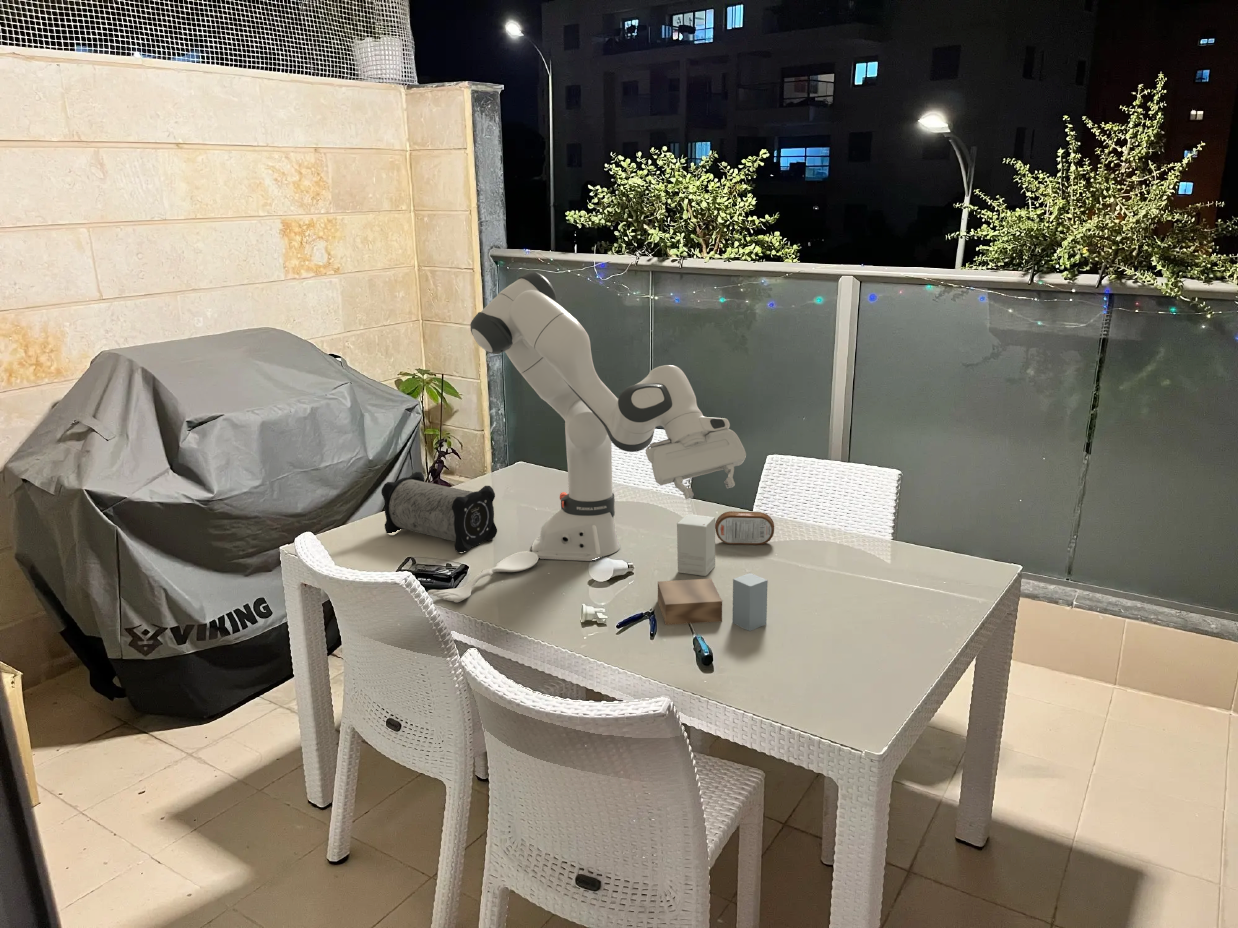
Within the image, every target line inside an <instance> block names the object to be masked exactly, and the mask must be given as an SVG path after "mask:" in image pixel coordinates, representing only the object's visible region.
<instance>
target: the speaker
mask: <svg viewBox="0 0 1238 928" xmlns="http://www.w3.org/2000/svg"><path fill="white" fill-rule="evenodd" d="M492 487H493V486H491V485H484V486H483V487H482V488H480V490H477V491H469V490H465V489H461V488H456V487H452V486H446V485H441V484H437V483H431V482H426V481H425V475H424V474H423V473H422V472H421V471H415V472H414V473H412V474H411V475H410V476H407V477H402V478H399V479H397V480H396V481H394V482H393V481H387V482H385V483H384V485H383V486H382V488H381V495H382V498H383V500H384V507H383V508H384V514H385V520H386V521H385V522H384V530H385V533H386V534H387V533H392V532H396V531H397V530H400V529H406V530H407V531H412V532H415V533H419V534H424V535H429V536H431V537H435V538H439V539H443V540H446V541H451V542H454V549H455V551H456V552H457V553H458V552H464V551H467V552H468V551H470V550H471V548H473V547H472V546H474V547H476V546H475V545H477V546H479V545H480V544H479V543H481V544H482V543H484V542H486V541H487V540H490V541H492V540H494V538H496V535H497V533H498V528H497V526H496V524H495V507H494V500H495V498H496V493H495V491H494V489H493V488H492ZM406 530H405V531H406ZM478 544H479V545H478Z"/></svg>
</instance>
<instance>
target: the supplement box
mask: <svg viewBox="0 0 1238 928" xmlns="http://www.w3.org/2000/svg"><path fill="white" fill-rule="evenodd" d="M715 523H716V517H715V516H708V515H699V514H691V513H687V514H686V515H685V516H683V517H682V518H681V519H680V520H679V521H678V522H677V523H676V533H677V534H676V535H677V540H676V542H677V544H676V545H677V547H676V548H677V549H676V550H677V553H676V554H677V572H678V573H680V574H689V575H694V576H695V575H696V576H701V577H707V576H708V575H709V574H710V572H711V571H712V570H713V569H714V568H715V566H716V530H715Z"/></svg>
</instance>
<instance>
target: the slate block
mask: <svg viewBox="0 0 1238 928" xmlns="http://www.w3.org/2000/svg"><path fill="white" fill-rule="evenodd" d="M768 583H769V582H768V579H766V578H764V577H761V576H759V575H757V574H755V573H751V572H749V573H748V572H747V573H746V574H743V575H740V576H737V577H734V578H733V579H732V618H731V619H732V624H733V625H736V626H738V627H740V628H742V629H744V630H746V631H748V632H751V631H753V630H756V629H759V628H761V627H764V626H765V625H766V626H767V620H768V619H767V617H768V616H767V615H768V613H767V612H768V585H769V584H768Z"/></svg>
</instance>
